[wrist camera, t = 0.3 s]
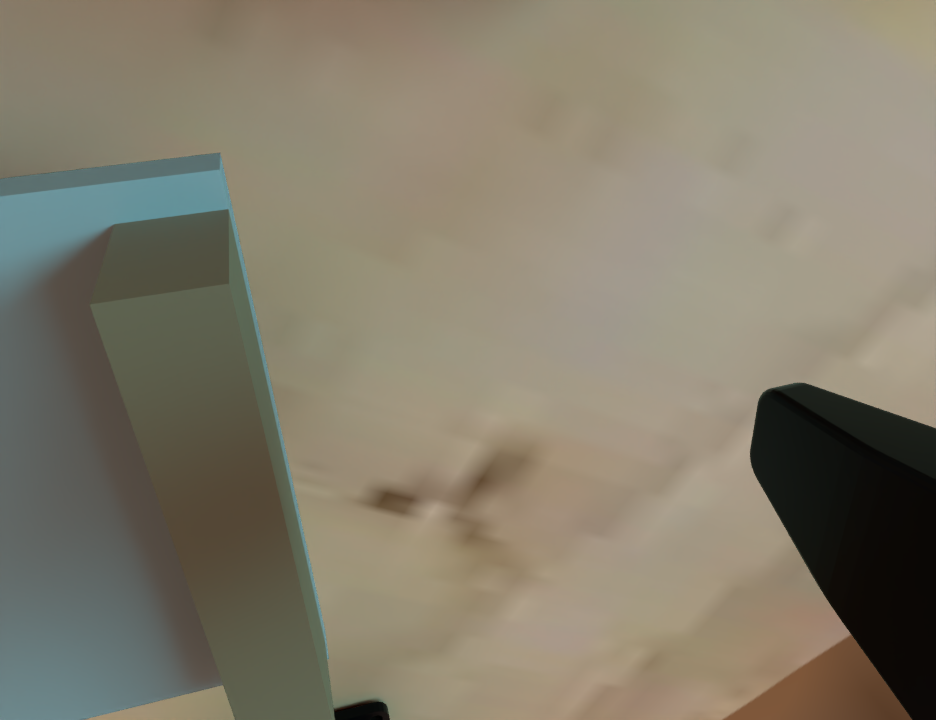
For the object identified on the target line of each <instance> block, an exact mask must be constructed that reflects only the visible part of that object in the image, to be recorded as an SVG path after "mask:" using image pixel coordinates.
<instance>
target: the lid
mask: <svg viewBox="0 0 936 720" xmlns="http://www.w3.org/2000/svg"><path fill="white" fill-rule="evenodd" d="M327 659H329V657H328V649H327V642H326V634H325V628H324V623H323V619H322V614H321V610H320V605H319V601H318V596H317V591H316V587H315V582H314V578H313V573H312V569H311V564H310V560H309V555H308V550H307V546H306V541H305V537H304V532H303V528H302V523H301V519H300V514H299V510H298V505H297V500H296V496H295V491H294V487H293V482H292V478H291V473H290V469H289V464H288V459H287V455H286V450H285V446H284V441H283V437H282V432H281V428H280V423H279V419H278V414H277V409H276V405H275V400H274V396H273V391H272V387H271V382H270V378H269V373H268V369H267V364H266V359H265V355H264V350H263V346H262V341H261V337H260V332H259V328H258V323H257V318H256V314H255V309H254V305H253V300H252V296H251V291H250V287H249V282H248V278H247V273H246V268H245V264H244V259H243V255H242V250H241V246H240V241H239V237H238V232H237V227H236V223H235V218H234V214H233V209H232V205H231V200H230V196H229V191H228V187H227V182H226V177H225V173H224V168H223V164H222V159H221V155H220V153H213V154H205V155H196V156H188V157H179V158H171V159H162V160H154V161H146V162H137V163H129V164H120V165H112V166H103V167H95V168H87V169H78V170H70V171H61V172H53V173H44V174H36V175H28V176H19V177H11V178H2V179H0V720H83V719H87V718H91V717H95V716H99V715H103V714H108V713H112V712H116V711H120V710H124V709H128V708H132V707H136V706H140V705H144V704H148V703H152V702H156V701H160V700H164V699H168V698H172V697H176V696H181V695H185V694H189V693H193V692H197V691H201V690H205V689H209V688H213V687H217V686H221V685H223V686H224V689H225V692H226V694H227V697H228V700H229V703H230V706H231V709H232V711H233V714H234V717H235V720H335V717H334V709H333V701H332V693H331V685H330V678H329V670H328V662H327Z"/></svg>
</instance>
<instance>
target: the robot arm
mask: <svg viewBox="0 0 936 720" xmlns="http://www.w3.org/2000/svg"><path fill="white" fill-rule="evenodd" d="M750 460H751V465H752V468H753V471H754V474H755V476H756V478H757V480H758V481H759V483H760V485H761V487H762V488H763V490H764V492H765V494H766V495H767V497H768V499H769V501H770V502H771V504H772V506H773V508H774V509H775V511H776V513H777V515H778V516H779V518H780V520H781V522H782V523H783V525H784V527H785V529H786V530H787V532H788V534H789V536H790V537H791V539H792V541H793V543H794V544H795V546H796V548H797V550H798V551H799V553H800V555H801V557H802V558H803V560H804V562H805V564H806V565H807V567H808V569H809V571H810V572H811V574H812V576H813V578H814V579H815V581H816V582H817V584H818V586H819V587H820V589H821V591H822V592H823V594H824V596H825V597H826V599H827V600H828V602H829V603H830V605H831V606H832V607H833V609H834V610H835V612H836V613H837V615H838V616H839V618H840V619H841V621H842V622H843V623H844V625H845V626H846V628H847V629H848V630H849V632H850V633H851V635H852V636H853V637H854V639H855V640H856V641H857V643H858V644H859V646H860V647H861V649H862V650H863V651H864V653H865V654H866V656H867V657H868V658H869V660H870V661H871V663H872V664H873V665H874V667H875V668H876V669H877V671H878V672H879V674H880V675H881V676H882V678H883V679H884V681H885V682H886V684H887V685H888V686H889V688H890V689H891V691H892V692H893V693H894V695H895V696H896V698H897V699H898V700H899V702H900V703H901V705H902V706H903V707H904V708H905V710H906V711H907V713H908V714H909V716H910V717H911V719H912V720H936V428H933V427H931V426H928V425H925V424H922V423H919V422H916V421H913V420H910V419H907V418H905V417H902V416H899V415H896V414H893V413H890V412H887V411H884V410H881V409H879V408H876V407H873V406H870V405H867V404H864V403H861V402H858V401H855V400H853V399H850V398H847V397H844V396H841V395H838V394H835V393H832V392H829V391H827V390H824V389H821V388H818V387H815V386H812V385H809V384H806V383H793V384H788V385H784V386H779V387H775V388H770V389H768V390H766V391H765V392H763V393H762V395H761V397H760V398H759V401H758V406H757V412H756V418H755V424H754V430H753V436H752V442H751V449H750ZM334 717H335V720H390V718H389V713H388V708H387V705H386V704H384V703H382V702H374V703H370V704H366V705H362V706H358V707H354V708H351V709H347V710H343V711H339V712H335V713H334Z"/></svg>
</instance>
